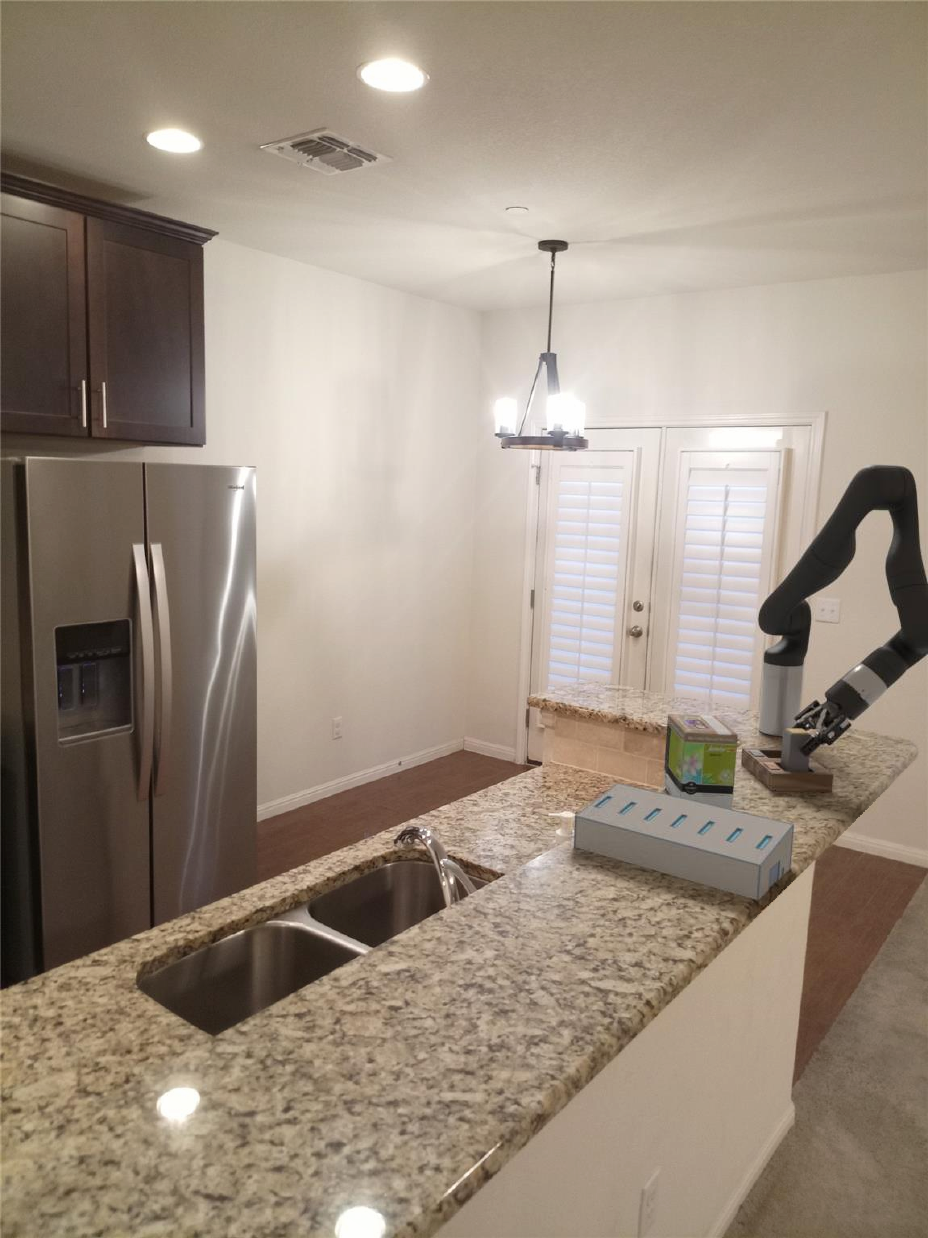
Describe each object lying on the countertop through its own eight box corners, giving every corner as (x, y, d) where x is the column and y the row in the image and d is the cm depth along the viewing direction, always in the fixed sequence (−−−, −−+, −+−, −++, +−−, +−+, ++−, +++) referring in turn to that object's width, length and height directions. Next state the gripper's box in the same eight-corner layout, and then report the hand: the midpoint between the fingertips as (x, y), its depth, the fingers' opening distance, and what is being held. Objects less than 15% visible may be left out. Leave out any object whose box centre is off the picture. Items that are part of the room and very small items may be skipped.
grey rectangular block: (779, 777, 181) (783, 727, 179) (799, 777, 181) (803, 728, 179) (787, 783, 177) (790, 733, 175) (807, 784, 177) (811, 733, 175)
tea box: (734, 813, 161) (739, 733, 159) (678, 811, 162) (683, 732, 160) (712, 786, 176) (717, 713, 174) (661, 785, 176) (665, 712, 174)
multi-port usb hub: (573, 849, 144) (575, 804, 143) (615, 824, 155) (617, 782, 154) (757, 903, 126) (761, 852, 125) (790, 871, 137) (794, 824, 136)
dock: (741, 763, 192) (742, 746, 192) (796, 764, 192) (797, 747, 192) (771, 791, 174) (772, 772, 174) (832, 792, 174) (833, 773, 174)
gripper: (828, 671, 183) (768, 724, 185) (859, 686, 169) (795, 743, 170) (852, 697, 184) (792, 749, 185) (885, 714, 170) (820, 771, 171)
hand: (793, 746), depth 178 cm, fingers open, 8 cm apart
